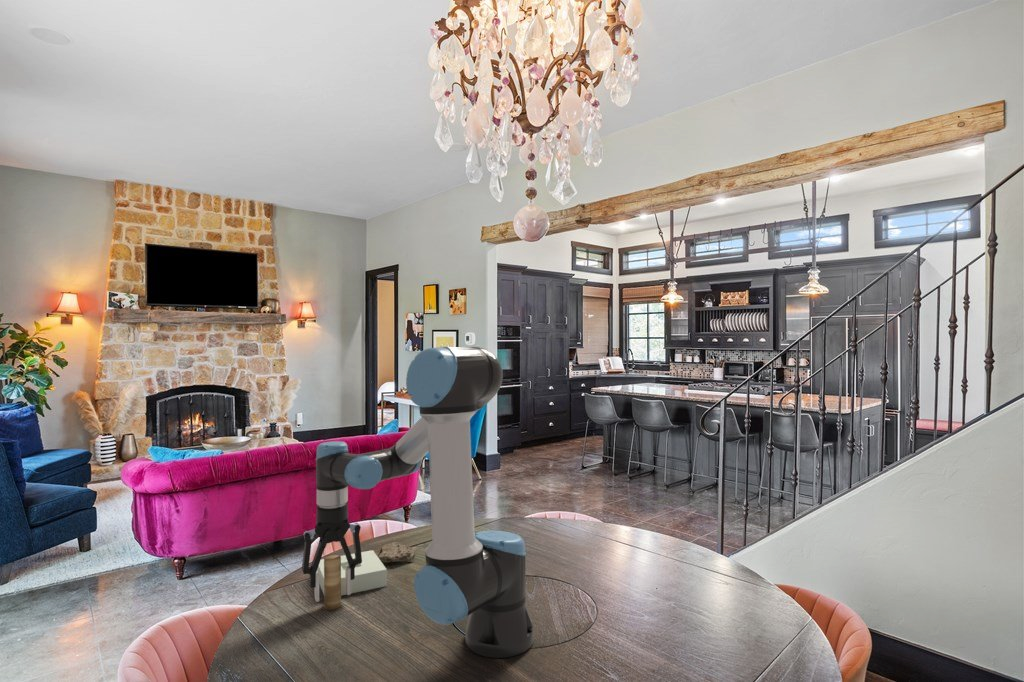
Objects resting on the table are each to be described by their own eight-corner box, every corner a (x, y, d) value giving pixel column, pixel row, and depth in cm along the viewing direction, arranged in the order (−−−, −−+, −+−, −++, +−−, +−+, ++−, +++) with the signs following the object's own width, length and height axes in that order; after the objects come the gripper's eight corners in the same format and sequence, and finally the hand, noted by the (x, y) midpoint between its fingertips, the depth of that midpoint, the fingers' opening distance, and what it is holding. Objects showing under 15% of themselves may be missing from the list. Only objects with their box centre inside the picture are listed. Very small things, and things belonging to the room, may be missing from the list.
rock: (410, 567, 161) (410, 552, 161) (373, 566, 161) (373, 552, 162) (418, 554, 171) (418, 540, 171) (383, 553, 172) (383, 540, 172)
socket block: (386, 585, 148) (386, 569, 148) (325, 598, 141) (325, 581, 141) (372, 565, 162) (372, 550, 162) (316, 576, 155) (316, 560, 155)
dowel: (342, 607, 136) (342, 559, 136) (325, 611, 134) (325, 562, 134) (339, 601, 139) (339, 554, 140) (323, 604, 138) (322, 556, 138)
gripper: (368, 495, 145) (368, 582, 145) (288, 505, 136) (288, 598, 135) (375, 502, 138) (375, 593, 138) (291, 513, 129) (291, 611, 129)
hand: (332, 595), depth 137 cm, fingers open, 7 cm apart
